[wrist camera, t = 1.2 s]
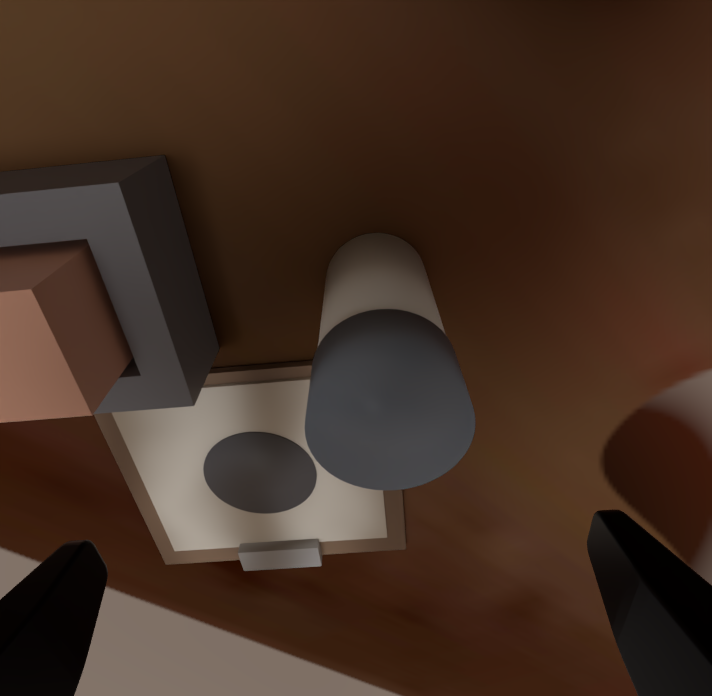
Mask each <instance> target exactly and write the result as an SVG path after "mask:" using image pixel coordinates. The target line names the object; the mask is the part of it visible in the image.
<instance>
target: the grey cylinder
mask: <svg viewBox="0 0 712 696" xmlns="http://www.w3.org/2000/svg"><path fill="white" fill-rule="evenodd" d="M474 431H475V414H474V409H473V406H472V403H471V400H470V397H469V394H468V390H467V387H466V384H465V381H464V378H463V375H462V372H461V369H460V366H459V363H458V360H457V357H456V354H455V351H454V348H453V346H452V344H451V342H450V340H449V339H448V337H447V336H446V334H445V331H444V328H443V325H442V321H441V318H440V315H439V312H438V309H437V306H436V302H435V299H434V296H433V293H432V290H431V287H430V283H429V280H428V277H427V274H426V271H425V268H424V264H423V262H422V259H421V258H420V256H419V254H418V253H417V252H416V250H415V249H414V248H413V247H412V246H411V245H410V244H409V243H407V242H406V241H404V240H402V239H401V238H399V237H396V236H393V235H390V234H385V233H369V234H364V235H360V236H358V237H355V238H353V239H351V240H349V241H348V242H346V243H345V244H344V245H342V246H341V247H340V248H339V249H338V250H337V251H336V253H335V254H334V256H333V257H332V259H331V261H330V263H329V266H328V269H327V274H326V282H325V291H324V299H323V307H322V316H321V324H320V333H319V341H318V347H317V350H316V352H315V355H314V358H313V363H312V370H311V378H310V386H309V393H308V401H307V409H306V417H305V438H306V441H307V445H308V447H309V449H310V451H311V453H312V455H313V456H314V458H315V459H316V461H317V462H318V463H319V464H320V465H321V466H322V467H323V468H324V469H325V470H326V471H328V472H329V473H330V474H332V475H333V476H335V477H336V478H338V479H340V480H342V481H344V482H346V483H349V484H352V485H354V486H358V487H362V488H366V489H372V490H401V489H407V488H412V487H416V486H419V485H422V484H425V483H428V482H430V481H432V480H434V479H436V478H438V477H440V476H442V475H443V474H445V473H446V472H448V471H449V470H450V469H451V468H453V467H454V466H455V465H456V464H457V463H458V462H459V461H460V460H461V459H462V457H463V456H464V455H465V453H466V452H467V450H468V448H469V446H470V444H471V442H472V439H473V436H474Z"/></svg>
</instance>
